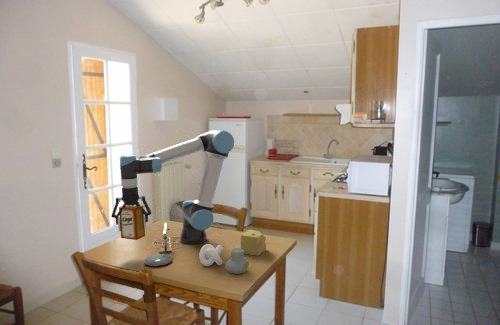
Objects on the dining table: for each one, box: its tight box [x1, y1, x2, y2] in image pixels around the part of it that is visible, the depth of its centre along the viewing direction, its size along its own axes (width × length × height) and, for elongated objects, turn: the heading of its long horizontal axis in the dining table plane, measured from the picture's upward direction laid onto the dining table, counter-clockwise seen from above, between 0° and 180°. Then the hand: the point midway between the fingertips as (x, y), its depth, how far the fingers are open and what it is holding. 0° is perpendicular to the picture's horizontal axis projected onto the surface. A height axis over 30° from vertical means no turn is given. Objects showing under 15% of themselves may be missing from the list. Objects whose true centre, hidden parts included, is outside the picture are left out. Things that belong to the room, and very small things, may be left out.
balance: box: [159, 222, 172, 254], centre depth 191 cm, size 6×14×14 cm, turn 11°
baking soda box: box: [118, 204, 146, 241], centre depth 182 cm, size 10×6×16 cm
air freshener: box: [225, 247, 250, 275], centre depth 166 cm, size 11×8×10 cm
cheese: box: [240, 229, 267, 257], centre depth 191 cm, size 10×11×10 cm
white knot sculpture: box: [198, 243, 224, 267], centre depth 174 cm, size 11×12×9 cm
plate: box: [143, 253, 173, 267], centre depth 178 cm, size 13×13×1 cm
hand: (132, 229), depth 183 cm, fingers closed on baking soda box, 11 cm apart
